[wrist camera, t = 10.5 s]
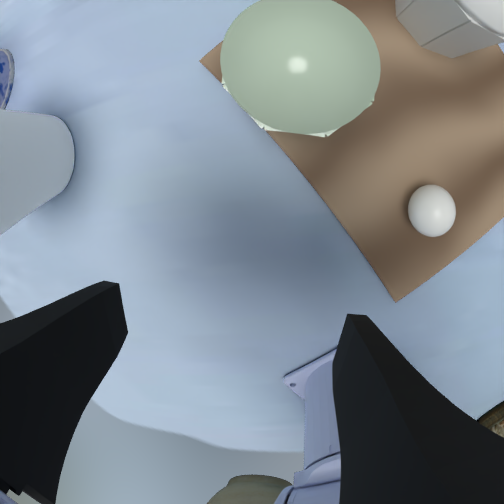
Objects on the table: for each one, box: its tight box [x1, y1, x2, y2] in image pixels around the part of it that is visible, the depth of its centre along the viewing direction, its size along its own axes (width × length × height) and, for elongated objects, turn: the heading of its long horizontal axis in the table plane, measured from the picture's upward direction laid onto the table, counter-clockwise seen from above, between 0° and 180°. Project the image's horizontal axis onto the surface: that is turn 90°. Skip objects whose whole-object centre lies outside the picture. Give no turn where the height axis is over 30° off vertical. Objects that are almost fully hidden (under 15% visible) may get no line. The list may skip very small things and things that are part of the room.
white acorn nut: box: [395, 0, 504, 58], centre depth 8 cm, size 6×6×7 cm
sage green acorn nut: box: [220, 0, 381, 137], centre depth 11 cm, size 6×6×7 cm
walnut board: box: [199, 0, 504, 303], centre depth 14 cm, size 20×18×1 cm
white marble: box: [408, 185, 456, 237], centre depth 15 cm, size 3×3×3 cm
